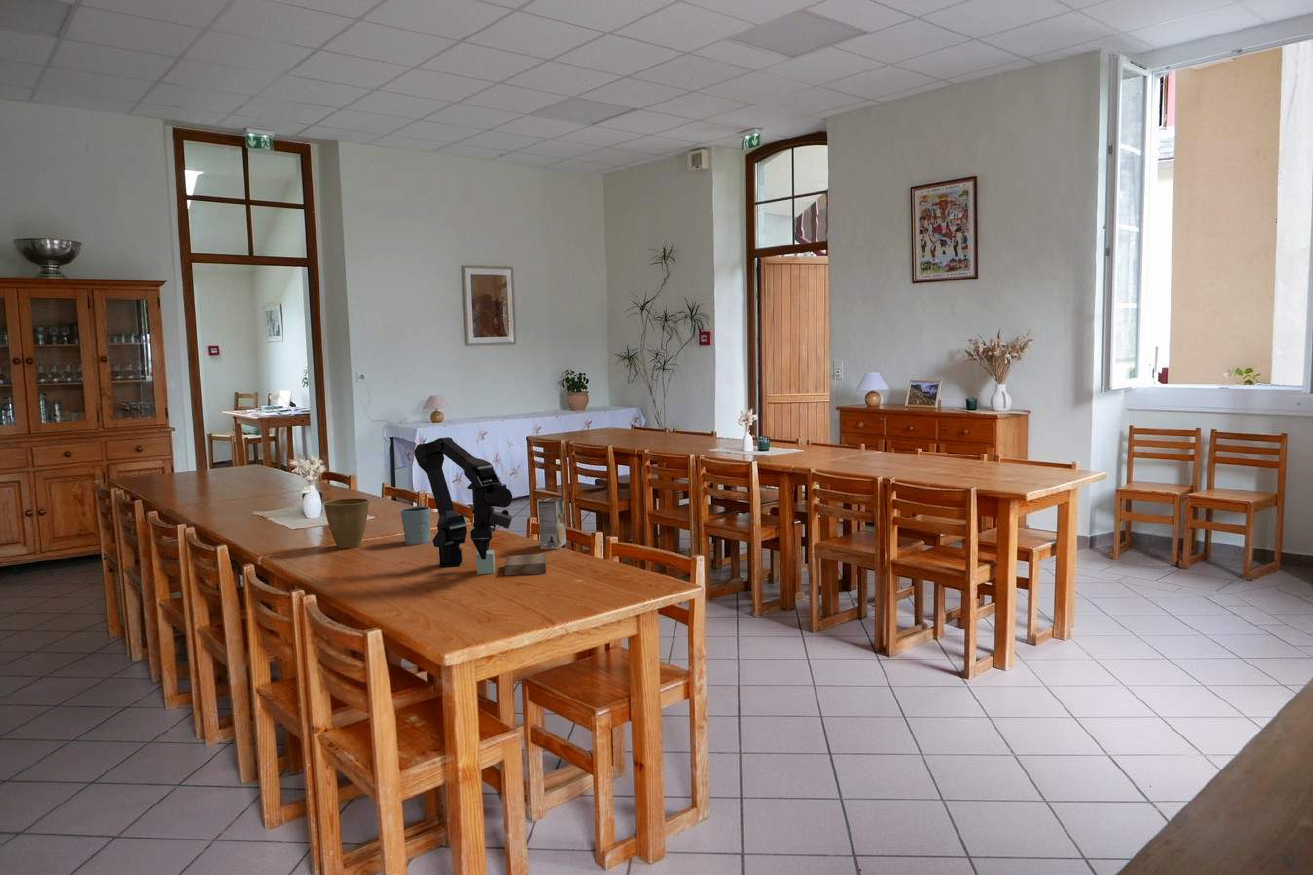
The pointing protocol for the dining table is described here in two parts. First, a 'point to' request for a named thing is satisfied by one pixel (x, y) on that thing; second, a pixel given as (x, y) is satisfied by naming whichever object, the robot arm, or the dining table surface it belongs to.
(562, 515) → the coffee box
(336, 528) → the plant pot
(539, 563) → the grayish brown panel
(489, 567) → the sage block
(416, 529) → the blue-grey cup
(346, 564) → the dining table surface
